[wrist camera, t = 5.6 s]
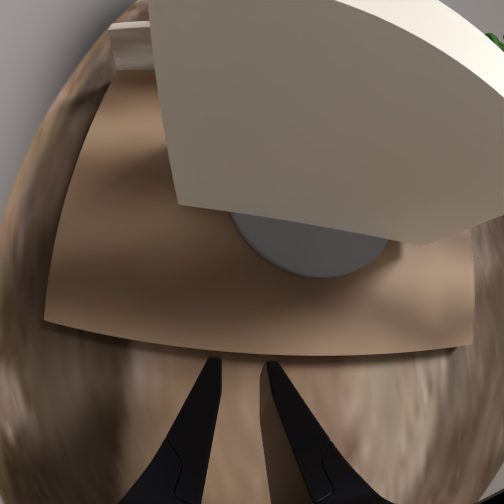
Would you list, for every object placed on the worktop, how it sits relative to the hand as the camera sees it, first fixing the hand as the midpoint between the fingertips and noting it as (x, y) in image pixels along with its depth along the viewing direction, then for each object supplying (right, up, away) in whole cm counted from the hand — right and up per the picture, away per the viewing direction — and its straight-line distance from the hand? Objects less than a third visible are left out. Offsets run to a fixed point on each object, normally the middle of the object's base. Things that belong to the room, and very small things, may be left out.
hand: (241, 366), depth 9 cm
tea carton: (+4, +7, +7) cm, 11 cm away
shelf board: (+4, +7, +8) cm, 11 cm away
